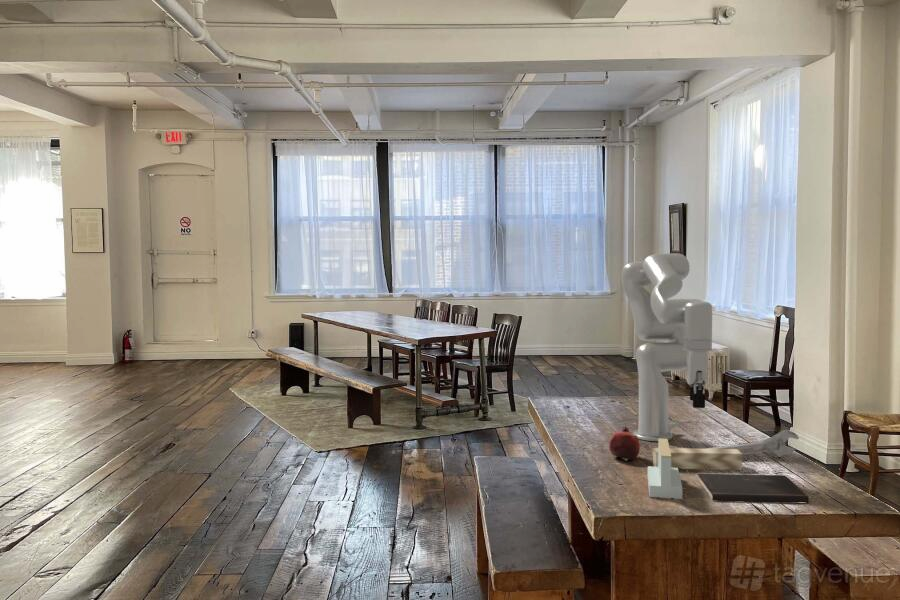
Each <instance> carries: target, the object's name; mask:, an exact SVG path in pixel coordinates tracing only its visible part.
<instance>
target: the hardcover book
mask: <svg viewBox="0 0 900 600" xmlns="http://www.w3.org/2000/svg"><path fill="white" fill-rule="evenodd" d="M697 476H698V478H697V479H698V481H699V483H700V484H701V486H702V485H703V486H704V487H703V486H702V487H703V488H704V490H705V489H706V490H705V491H706V492H708V493H707V494H708V495H709V497H710V496H711V497H710V498H711V499H712V500H717V501H716V502H735V501H744V503H745V502H746V503H774V502H780V504H781V502H806V503H805V504H809V503H810V501H809V500H810V498H809V495H808V494H807V493H805V492H804V491H803V490H802V489H801V488H800V487H799V486H797V485H796V483H795V482H793V481H792V480H791V479H790V478H789V477H788V476H787V475H785V474H783V475H782V474H781V475H780V474H743V473H741V474H738V473H737V474H736V473H734V474H733V473H729V474H728V473H697Z"/></svg>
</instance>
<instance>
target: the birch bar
mask: <svg viewBox="0 0 900 600" xmlns="http://www.w3.org/2000/svg"><path fill="white" fill-rule="evenodd" d="M669 448H670V453H671V468H681V469H680V470H718V471H719V470H723V471H725V470H728V471H729V470H730V471H733V470H734V471H742V470H743V454H742V453H741V452H740V451H739V450H738V449H706V448H685V447H684V448H682V447H681V448H675V447H674V448H673V447H669ZM652 465H653V466H654V467H658V447H653V448H652Z"/></svg>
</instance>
